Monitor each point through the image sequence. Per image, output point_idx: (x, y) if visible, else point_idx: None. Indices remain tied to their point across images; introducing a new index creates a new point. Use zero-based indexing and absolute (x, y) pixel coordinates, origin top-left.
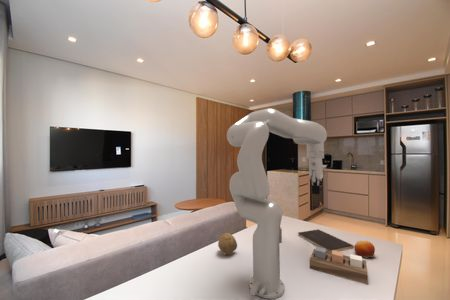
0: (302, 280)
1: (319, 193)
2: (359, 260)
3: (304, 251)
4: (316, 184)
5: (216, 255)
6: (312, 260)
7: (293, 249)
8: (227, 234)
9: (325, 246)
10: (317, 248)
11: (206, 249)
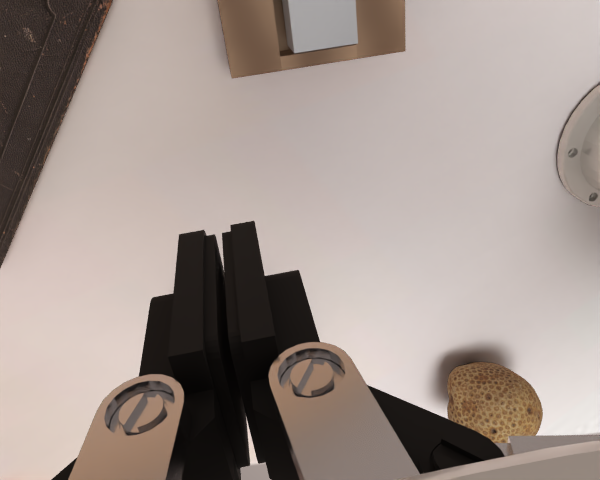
0: (516, 34)
1: (235, 226)
2: None
3: (211, 137)
4: (387, 402)
5: None
6: (403, 33)
7: (232, 195)
8: None
9: (75, 36)
10: (321, 35)
11: None
